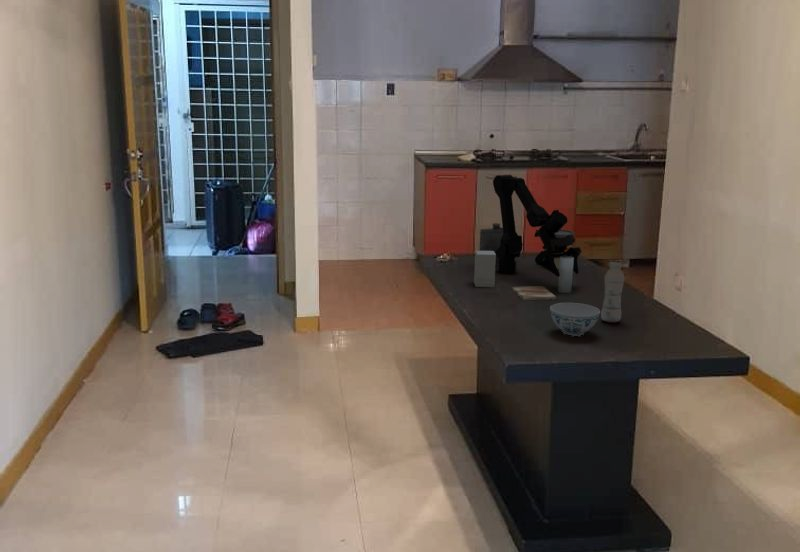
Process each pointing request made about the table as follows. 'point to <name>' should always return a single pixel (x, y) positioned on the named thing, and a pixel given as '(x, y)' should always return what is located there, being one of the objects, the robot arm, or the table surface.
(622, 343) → the table surface
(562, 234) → the reusable coffee cup
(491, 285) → the supplement box
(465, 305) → the table surface
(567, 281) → the grey flared tumbler
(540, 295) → the beige flat rectangular panel
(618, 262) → the plastic bottle
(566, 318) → the chinaware
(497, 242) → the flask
